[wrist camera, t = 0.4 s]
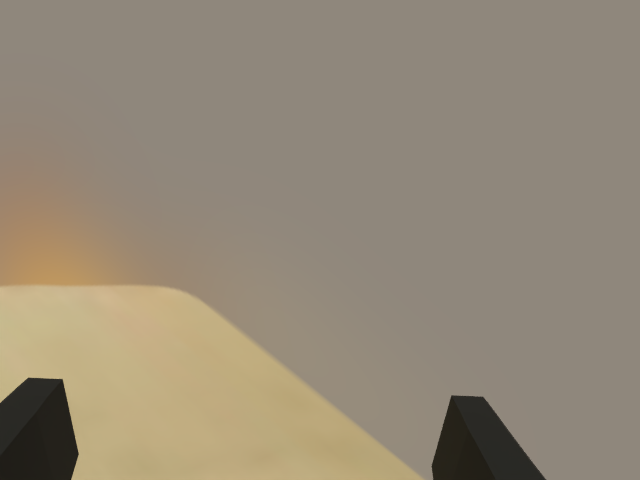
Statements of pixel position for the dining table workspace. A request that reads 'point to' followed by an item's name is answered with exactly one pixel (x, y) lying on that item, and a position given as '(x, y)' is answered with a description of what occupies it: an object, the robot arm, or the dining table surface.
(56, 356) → the dining table surface
